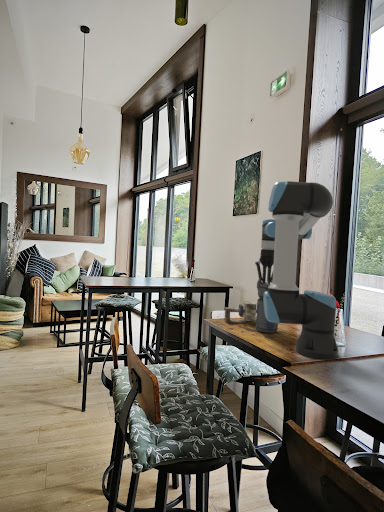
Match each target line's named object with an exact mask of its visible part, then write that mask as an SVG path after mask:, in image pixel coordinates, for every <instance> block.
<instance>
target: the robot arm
mask: <svg viewBox="0 0 384 512" xmlns="http://www.w3.org/2000/svg"><path fill="white" fill-rule="evenodd" d="M333 206H334V199H333V196H332V193H331V192H330V190H329V189H328V188H327V187H326V186H324V185H322V184H321V183H318V182H306V181H305V182H304V181H290V180H289V181H288V180H287V181H277V182H275V183H274V184H273V186H272V189H271V192H270V196H269V201H268V209H267V210H268V212H270V213H272V214H271V215H272V218H273V219H272V218H269V219H268V218H267V219H263V221H262V224H261V243H260V244H261V246H260V248H261V249H260V257H259V259H258V260H257V261H255V262H254V264H255V266H256V271H257V275H258V276H257V277H258V279H259V278H262V279H261V281H262V283H266V284H271V285H270V286H269V287H268V291H266V292H264V297H263V302H264V311H265V316H266V319H267V320H268V321H269V322H274V323H278V325H280V324H289V325H290V324H291V325H301V332H300V335H299V336H298V337H299V338H298V339H297V341H296V345H295V352H297V353H298V354H299V355H302V356H306V357H309V358H313V359H318V360H319V359H320V360H333V359H334V360H335V359H337V358H338V357H339V349H338V345H337V341H336V337H335V329H336V314H337V309H338V308H337V299H336V297H335V296H334V295H331V294H328V293H325V292H319V291H315V290H308V289H307V290H306V289H305V290H304V292H303V293H300V288H299V287H298V286H297V285H296V283H297V282H296V281H297V264H298V263H297V262H298V250H299V249H298V248H299V247H298V245H299V240H309V239H311V237H312V233H313V227H314V226H315V225H316V224H317V223H318V221H319V220H320V219H321V218H324V217H326V216H327V215H328V214H329V213H330V211H331V210H332V208H333ZM261 265H262V269H261ZM272 266H273V268H272ZM272 269H273V270H272ZM269 281H273V283H271V282H269Z"/></svg>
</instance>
